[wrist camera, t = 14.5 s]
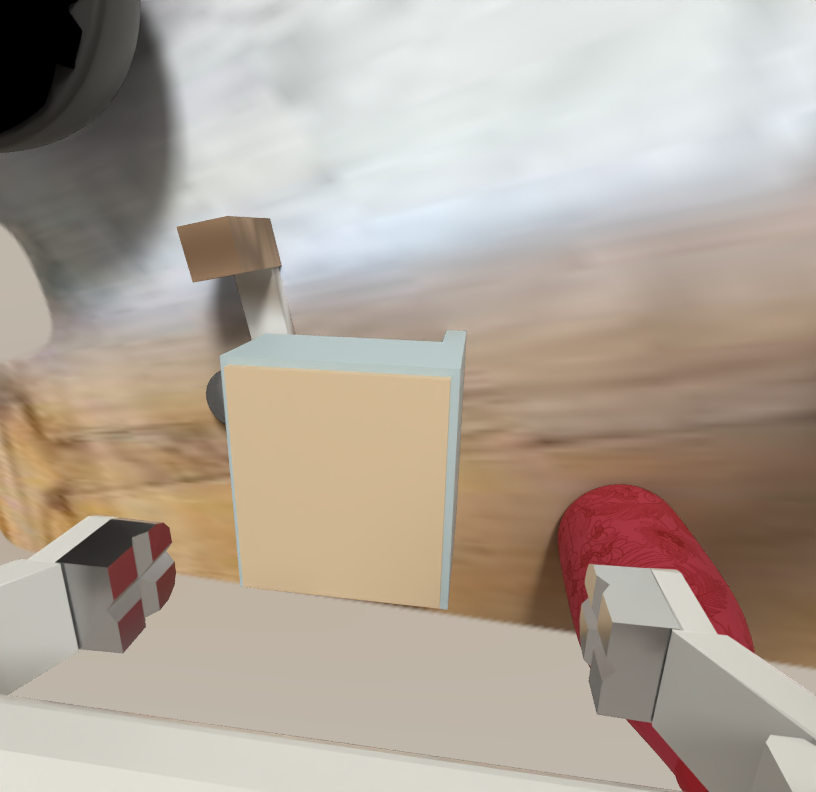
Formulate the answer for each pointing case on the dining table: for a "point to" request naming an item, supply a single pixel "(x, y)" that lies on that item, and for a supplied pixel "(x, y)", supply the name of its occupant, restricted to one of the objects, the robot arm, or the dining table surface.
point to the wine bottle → (644, 548)
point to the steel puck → (216, 397)
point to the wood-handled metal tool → (241, 267)
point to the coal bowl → (61, 65)
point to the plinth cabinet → (346, 464)
